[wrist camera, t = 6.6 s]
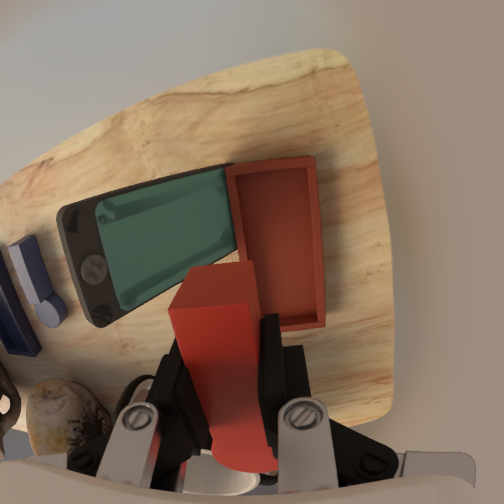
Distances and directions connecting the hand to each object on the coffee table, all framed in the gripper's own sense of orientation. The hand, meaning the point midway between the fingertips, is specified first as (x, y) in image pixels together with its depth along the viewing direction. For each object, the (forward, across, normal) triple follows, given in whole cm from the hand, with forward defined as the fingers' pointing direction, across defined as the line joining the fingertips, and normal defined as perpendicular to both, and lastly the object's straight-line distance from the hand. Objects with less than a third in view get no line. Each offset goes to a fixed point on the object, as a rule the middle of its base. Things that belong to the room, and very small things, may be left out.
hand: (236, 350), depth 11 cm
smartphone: (+10, +6, -2) cm, 12 cm away
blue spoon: (+16, +25, +3) cm, 30 cm away
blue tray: (+16, +35, +6) cm, 39 cm away
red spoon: (0, 0, +3) cm, 3 cm away
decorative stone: (+17, +27, +23) cm, 39 cm away
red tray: (+16, -2, +2) cm, 17 cm away
